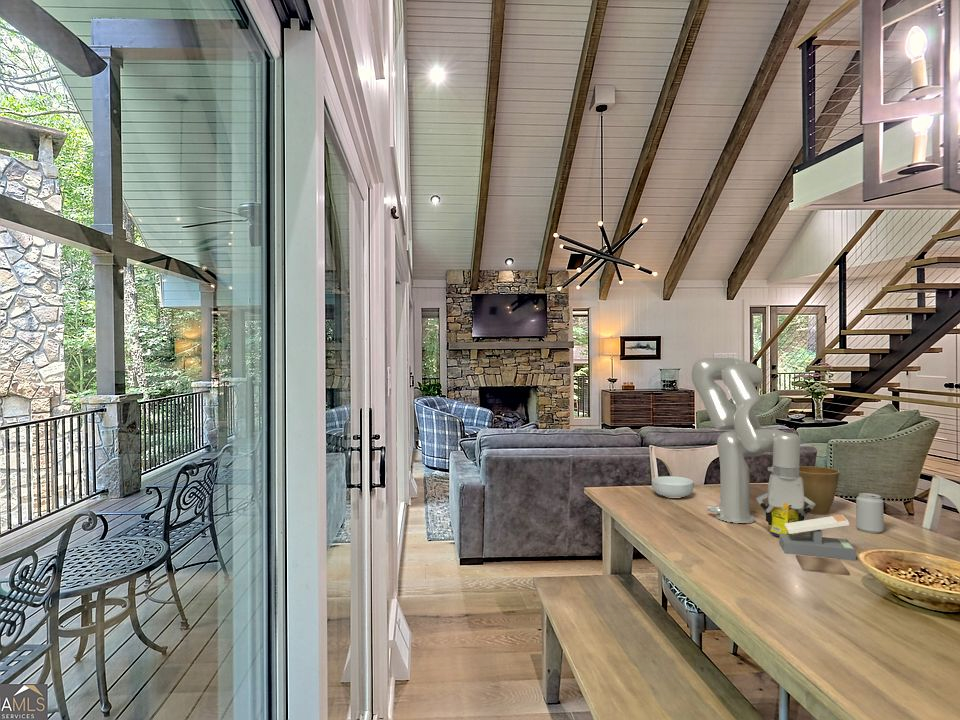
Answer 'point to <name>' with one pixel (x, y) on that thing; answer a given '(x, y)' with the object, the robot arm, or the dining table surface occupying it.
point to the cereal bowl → (672, 486)
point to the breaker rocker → (816, 524)
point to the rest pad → (822, 565)
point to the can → (869, 513)
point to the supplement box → (783, 519)
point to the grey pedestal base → (817, 545)
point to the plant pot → (819, 487)
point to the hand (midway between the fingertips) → (784, 525)
